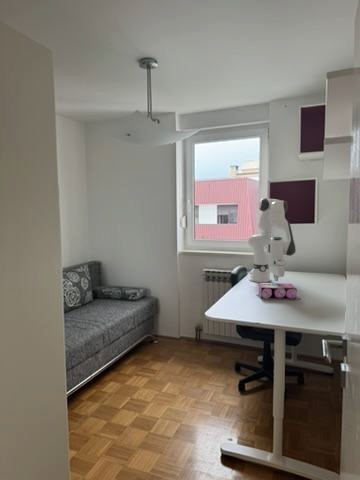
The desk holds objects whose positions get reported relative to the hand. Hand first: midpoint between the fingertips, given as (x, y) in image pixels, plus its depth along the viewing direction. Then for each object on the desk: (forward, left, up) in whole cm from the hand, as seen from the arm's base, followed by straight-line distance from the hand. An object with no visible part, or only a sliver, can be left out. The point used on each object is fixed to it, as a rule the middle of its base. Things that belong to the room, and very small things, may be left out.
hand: (276, 280), depth 225 cm
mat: (+5, 0, -10) cm, 11 cm away
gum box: (-2, 0, -6) cm, 6 cm away
